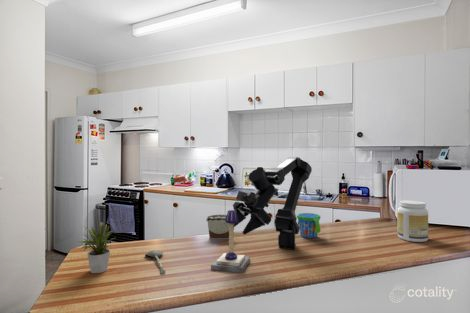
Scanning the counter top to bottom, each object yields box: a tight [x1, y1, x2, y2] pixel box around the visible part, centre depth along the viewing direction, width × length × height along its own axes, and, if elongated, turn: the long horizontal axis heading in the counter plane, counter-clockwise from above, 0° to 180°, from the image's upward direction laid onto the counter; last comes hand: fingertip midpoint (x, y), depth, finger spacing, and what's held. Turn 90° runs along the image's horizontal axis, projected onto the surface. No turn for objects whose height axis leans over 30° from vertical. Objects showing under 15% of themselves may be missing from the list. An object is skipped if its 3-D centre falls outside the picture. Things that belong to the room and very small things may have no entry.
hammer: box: [144, 249, 166, 275], centre depth 107 cm, size 22×3×7 cm
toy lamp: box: [225, 209, 238, 260], centre depth 104 cm, size 5×5×17 cm
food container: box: [206, 214, 230, 240], centre depth 139 cm, size 12×6×10 cm, turn 84°
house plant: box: [77, 221, 116, 274], centre depth 100 cm, size 14×14×16 cm
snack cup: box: [296, 212, 322, 239], centre depth 139 cm, size 16×10×10 cm
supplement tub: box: [396, 199, 429, 243], centre depth 135 cm, size 12×12×17 cm
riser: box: [210, 252, 251, 274], centre depth 104 cm, size 11×11×2 cm
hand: (236, 230), depth 105 cm, fingers open, 9 cm apart
